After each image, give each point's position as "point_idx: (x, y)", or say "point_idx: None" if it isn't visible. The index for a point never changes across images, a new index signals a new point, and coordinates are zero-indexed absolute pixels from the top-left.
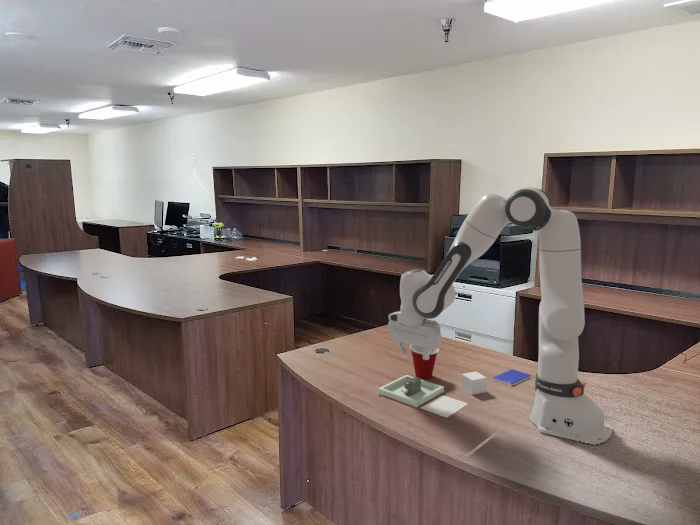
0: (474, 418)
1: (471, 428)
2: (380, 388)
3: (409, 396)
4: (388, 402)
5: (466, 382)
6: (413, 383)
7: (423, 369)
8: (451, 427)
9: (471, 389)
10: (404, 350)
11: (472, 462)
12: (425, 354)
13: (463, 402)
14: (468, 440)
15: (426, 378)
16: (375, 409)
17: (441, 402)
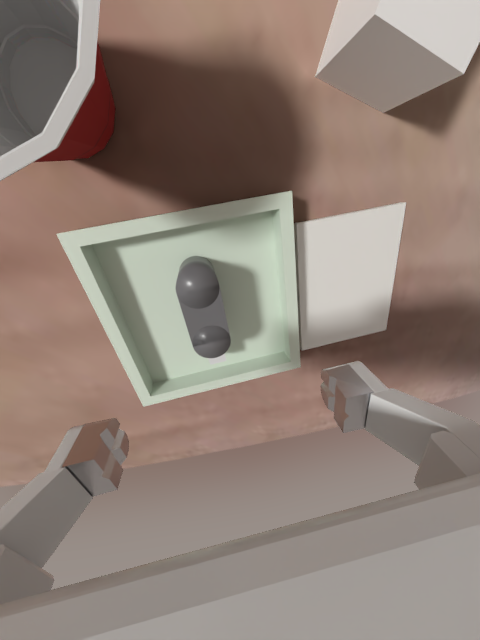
0: (441, 263)
1: (447, 310)
2: (148, 401)
3: None
4: None
5: (389, 65)
6: (228, 331)
7: (92, 140)
8: (406, 343)
9: (409, 97)
10: (115, 468)
11: (475, 389)
12: (377, 431)
13: (387, 210)
14: (453, 350)
15: (113, 128)
16: (220, 427)
17: (329, 275)
